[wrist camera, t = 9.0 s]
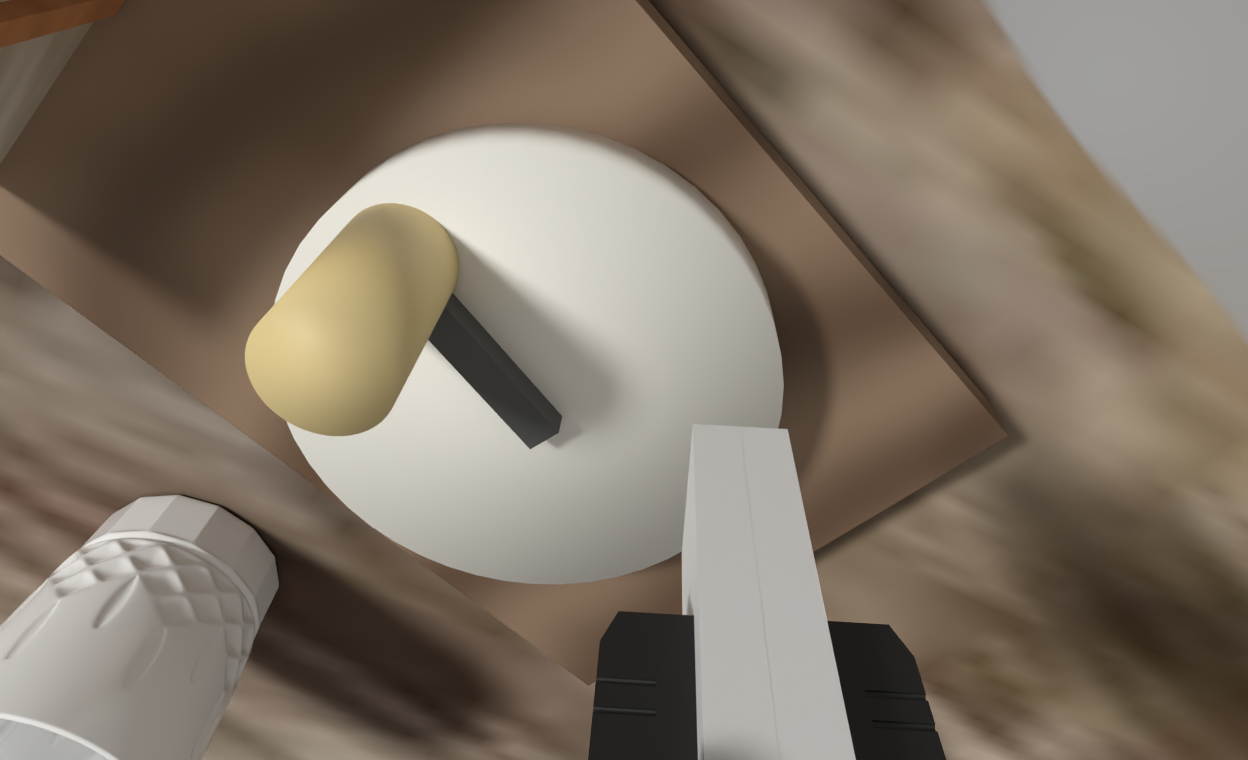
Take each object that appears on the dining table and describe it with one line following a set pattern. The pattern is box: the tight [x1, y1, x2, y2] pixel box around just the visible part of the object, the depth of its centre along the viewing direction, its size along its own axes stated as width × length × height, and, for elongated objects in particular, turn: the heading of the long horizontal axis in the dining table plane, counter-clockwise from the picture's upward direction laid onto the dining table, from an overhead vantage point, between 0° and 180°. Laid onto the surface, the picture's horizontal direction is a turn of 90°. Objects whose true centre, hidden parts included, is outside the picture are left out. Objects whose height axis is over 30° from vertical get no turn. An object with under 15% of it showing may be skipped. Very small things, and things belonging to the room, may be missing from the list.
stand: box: [0, 0, 1008, 686], centre depth 22 cm, size 27×18×9 cm, turn 43°
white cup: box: [0, 495, 279, 760], centre depth 29 cm, size 8×8×10 cm
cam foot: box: [245, 123, 784, 584], centre depth 22 cm, size 14×14×8 cm
